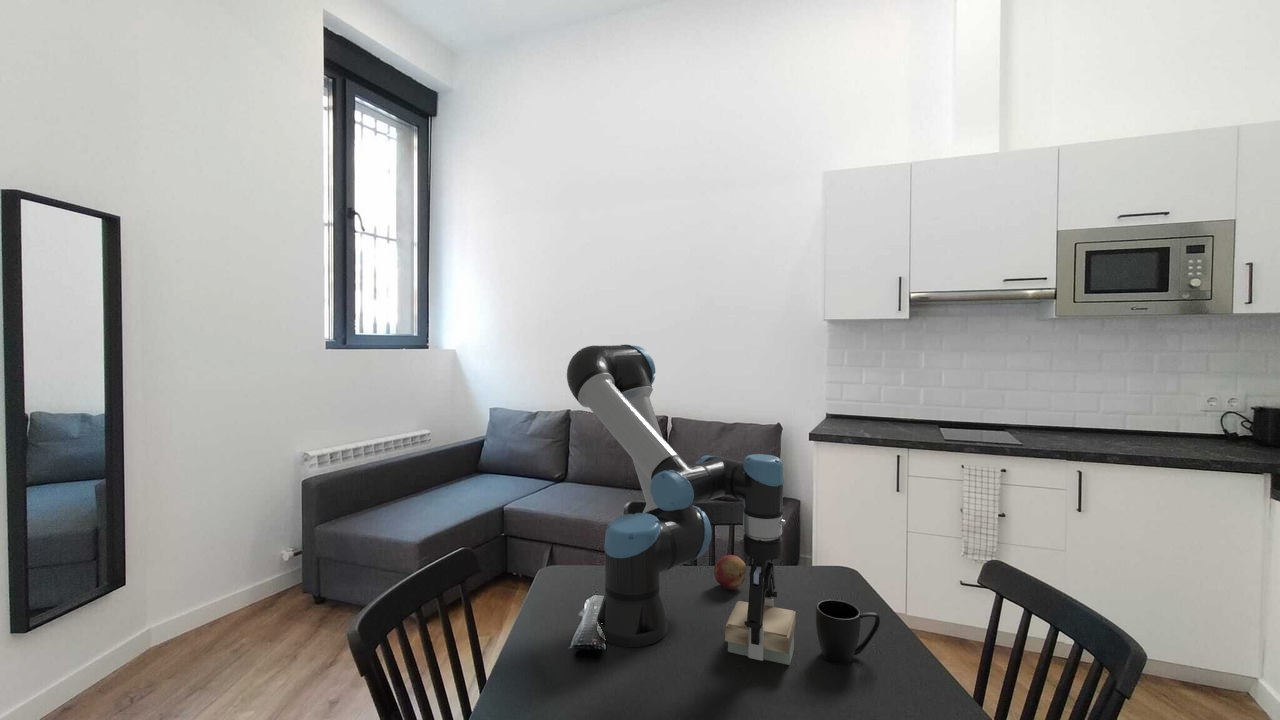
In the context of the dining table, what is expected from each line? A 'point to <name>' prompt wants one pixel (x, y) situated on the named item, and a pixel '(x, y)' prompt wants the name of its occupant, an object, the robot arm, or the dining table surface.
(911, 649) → the dining table surface
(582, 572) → the dining table surface
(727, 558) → the fruit
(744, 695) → the dining table surface
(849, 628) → the mug
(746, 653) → the sage green box base
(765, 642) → the lid
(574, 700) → the dining table surface
